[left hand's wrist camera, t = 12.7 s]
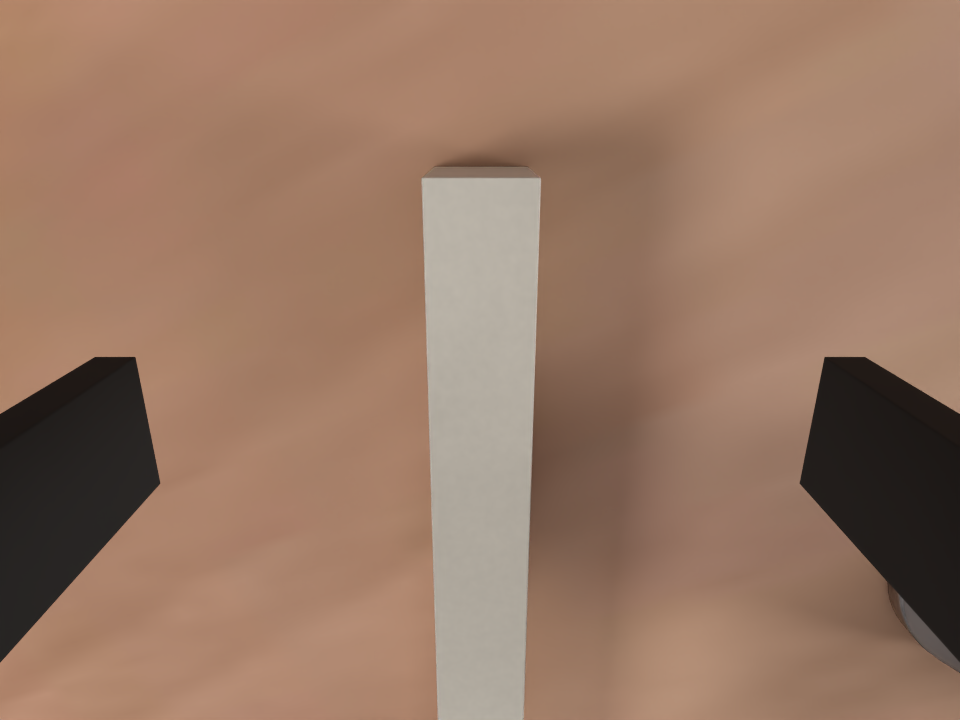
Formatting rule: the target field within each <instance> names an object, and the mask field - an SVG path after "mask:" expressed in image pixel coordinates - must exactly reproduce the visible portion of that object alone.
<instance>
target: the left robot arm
mask: <svg viewBox="0 0 960 720" xmlns="http://www.w3.org/2000/svg"><path fill="white" fill-rule="evenodd" d="M159 484H160V480H159V475H158V469H157V464H156V459H155V454H154V449H153V444H152V439H151V434H150V429H149V424H148V419H147V414H146V409H145V404H144V399H143V394H142V389H141V383H140V378H139V373H138V368H137V363H136V358H135V357H94V358H93V359H91V360H89V361H88V362H86V363H84V364H83V365H81V366H79V367H78V368H76V369H74V370H73V371H71V372H69V373H68V374H66V375H64V376H63V377H61V378H59V379H58V380H56V381H54V382H53V383H51V384H50V385H48V386H46V387H45V388H43V389H41V390H40V391H38V392H36V393H35V394H33V395H31V396H30V397H28V398H26V399H25V400H23V401H21V402H20V403H18V404H16V405H15V406H13V407H11V408H10V409H8V410H6V411H5V412H3V413H1V414H0V662H1V661H2V660H3V659H4V658H5V657H6V655H7V654H8V653H9V652H10V651H11V650H12V649H13V648H14V647H15V645H16V644H17V643H18V642H19V641H20V640H21V639H22V638H23V636H24V635H25V634H26V633H27V632H28V631H29V630H30V629H31V627H32V626H33V625H34V624H35V623H36V622H37V621H38V620H39V619H40V617H41V616H42V615H43V614H44V613H45V612H46V611H47V610H48V608H49V607H50V606H51V605H52V604H53V603H54V602H55V601H56V600H57V598H58V597H59V596H60V595H61V594H62V593H63V592H64V591H65V589H66V588H67V587H68V586H69V585H70V584H71V583H72V582H73V580H74V579H75V578H76V577H77V576H78V575H79V574H80V573H81V572H82V570H83V569H84V568H85V567H86V566H87V565H88V564H89V563H90V561H91V560H92V559H93V558H94V557H95V556H96V555H97V554H98V553H99V551H100V550H101V549H102V548H103V547H104V546H105V545H106V544H107V542H108V541H109V540H110V539H111V538H112V537H113V536H114V535H115V534H116V532H117V531H118V530H119V529H120V528H121V527H122V526H123V525H124V523H125V522H126V521H127V520H128V519H129V518H130V517H131V516H132V514H133V513H134V512H135V511H136V510H137V509H138V508H139V507H140V506H141V504H142V503H143V502H144V501H145V500H146V499H147V498H148V497H149V495H150V494H151V493H152V492H153V491H154V490H155V489H156V488H157V487H158V485H159ZM800 484H801V485H802V487H803V488H804V489H805V490H806V491H807V492H808V493H809V494H810V495H811V497H812V498H813V499H814V500H815V501H816V502H817V503H818V504H819V506H820V507H821V508H822V509H823V510H824V511H825V512H826V513H827V514H828V516H829V517H830V518H831V519H832V520H833V521H834V522H835V523H836V525H837V526H838V527H839V528H840V529H841V530H842V531H843V532H844V534H845V535H846V536H847V537H848V538H849V539H850V540H851V541H852V542H853V544H854V545H855V546H856V547H857V548H858V549H859V550H860V551H861V553H862V554H863V555H864V556H865V557H866V558H867V559H868V560H869V561H870V563H871V564H872V565H873V566H874V567H875V568H876V569H877V570H878V572H879V573H880V574H881V575H882V576H883V577H884V578H885V579H886V581H887V582H888V593H889V598H890V602H891V605H892V607H893V610H894V612H895V614H896V616H897V617H898V618H899V620H900V621H901V623H902V624H903V625H904V626H905V627H906V629H907V630H908V631H909V632H910V633H911V635H912V636H913V637H914V638H915V639H916V640H917V642H918V643H919V644H920V645H921V646H922V647H923V648H924V649H926V650H927V651H928V652H929V653H931V654H932V655H933V656H935V657H936V658H937V659H939V660H940V661H942V662H943V663H945V664H947V665H948V666H950V667H951V668H953V669H955V670H956V671H958V672H959V673H960V414H959V413H957V412H955V411H954V410H952V409H950V408H949V407H947V406H945V405H944V404H942V403H940V402H939V401H937V400H935V399H934V398H932V397H930V396H929V395H927V394H925V393H924V392H922V391H920V390H919V389H917V388H915V387H914V386H912V385H910V384H909V383H907V382H906V381H904V380H902V379H901V378H899V377H897V376H896V375H894V374H892V373H891V372H889V371H887V370H886V369H884V368H882V367H881V366H879V365H877V364H876V363H874V362H872V361H871V360H869V359H867V358H866V357H825V358H824V363H823V368H822V373H821V378H820V383H819V389H818V394H817V399H816V404H815V409H814V414H813V419H812V424H811V429H810V434H809V439H808V444H807V449H806V454H805V459H804V464H803V469H802V474H801V480H800Z"/></svg>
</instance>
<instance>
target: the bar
mask: <svg viewBox="0 0 960 720" xmlns="http://www.w3.org/2000/svg"><path fill="white" fill-rule="evenodd" d="M540 192H541V178H540V177H539V176H538V175H537V174H536V173H534V172H533V171H532V170H531V169H530V168H529V167H433V168H432V169H431V170H430V171H429V172H428V173H427V174H426V175H425V176H423V177H422V208H423V241H424V275H425V308H426V341H427V374H428V408H429V441H430V474H431V507H432V540H433V574H434V607H435V640H436V673H437V707H438V720H524V691H525V660H526V629H527V598H528V566H529V535H530V504H531V473H532V441H533V410H534V379H535V348H536V317H537V285H538V254H539V223H540Z"/></svg>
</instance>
